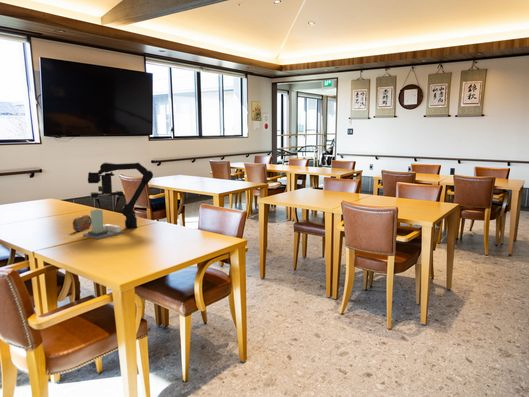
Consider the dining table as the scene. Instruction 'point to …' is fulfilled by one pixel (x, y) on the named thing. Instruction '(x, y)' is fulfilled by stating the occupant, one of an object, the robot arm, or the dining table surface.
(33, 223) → the dining table surface
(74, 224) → the tin
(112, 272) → the dining table surface
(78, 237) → the dining table surface
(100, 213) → the post
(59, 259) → the dining table surface
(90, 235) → the baseplate
